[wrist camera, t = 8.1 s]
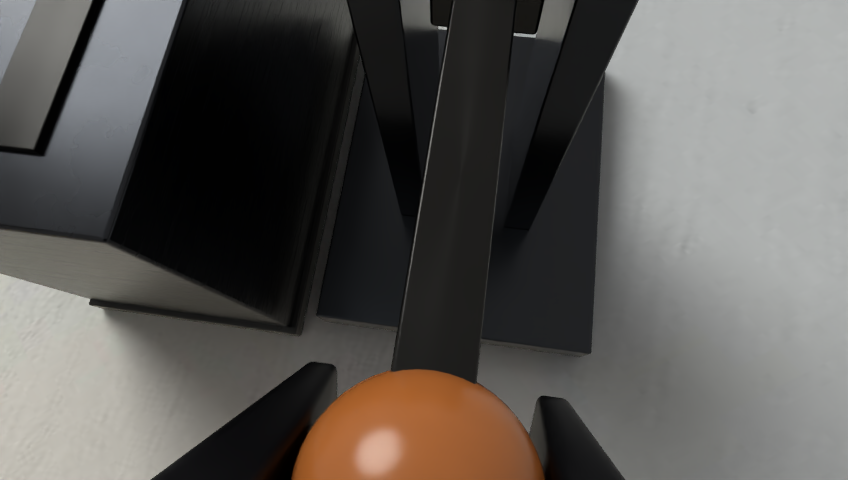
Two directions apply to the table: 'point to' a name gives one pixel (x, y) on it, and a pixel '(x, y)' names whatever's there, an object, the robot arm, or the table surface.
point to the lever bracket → (517, 182)
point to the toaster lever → (442, 289)
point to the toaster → (173, 151)
